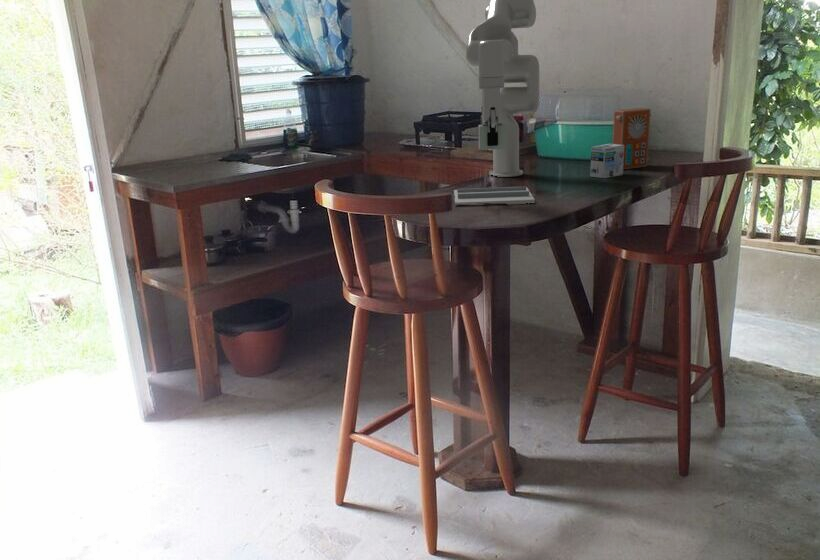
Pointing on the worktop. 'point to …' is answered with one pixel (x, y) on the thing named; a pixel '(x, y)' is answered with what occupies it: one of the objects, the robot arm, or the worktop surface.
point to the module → (483, 137)
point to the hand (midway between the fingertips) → (492, 143)
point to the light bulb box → (607, 160)
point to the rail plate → (494, 195)
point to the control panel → (632, 135)
